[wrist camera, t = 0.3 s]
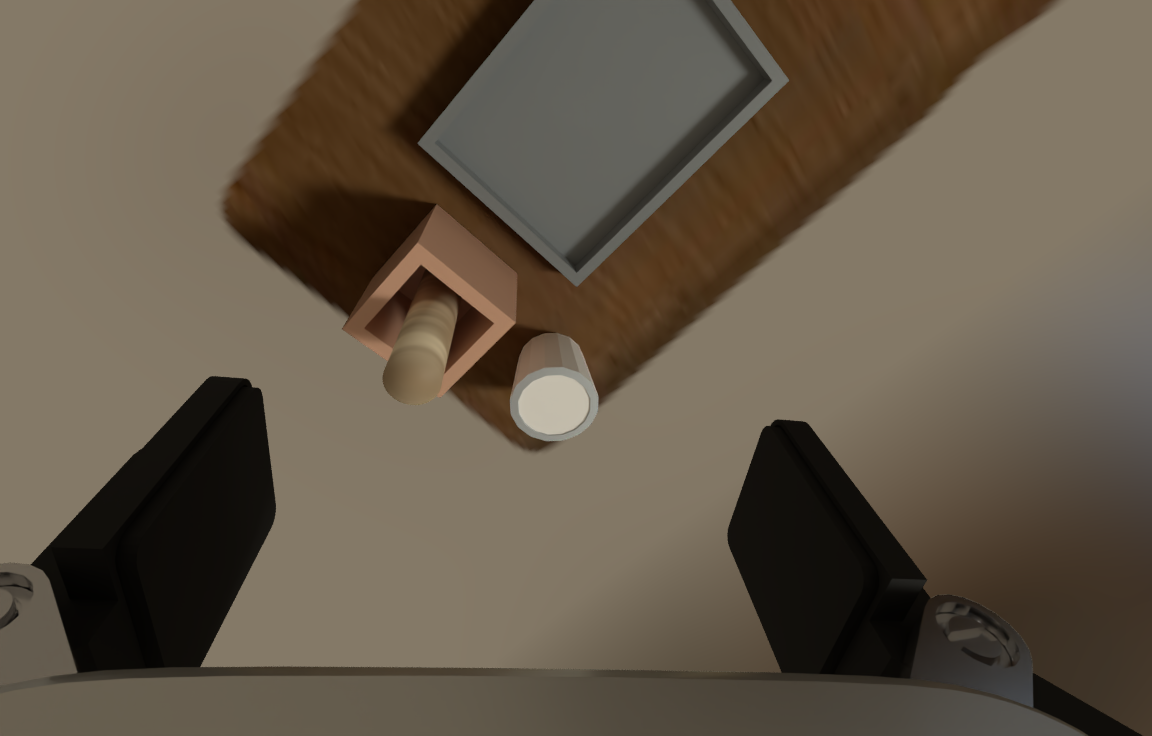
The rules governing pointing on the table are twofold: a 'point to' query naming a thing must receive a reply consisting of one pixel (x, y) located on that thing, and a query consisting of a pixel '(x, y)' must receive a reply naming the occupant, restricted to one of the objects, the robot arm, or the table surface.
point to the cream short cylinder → (553, 389)
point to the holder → (462, 270)
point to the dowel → (423, 343)
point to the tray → (600, 117)
